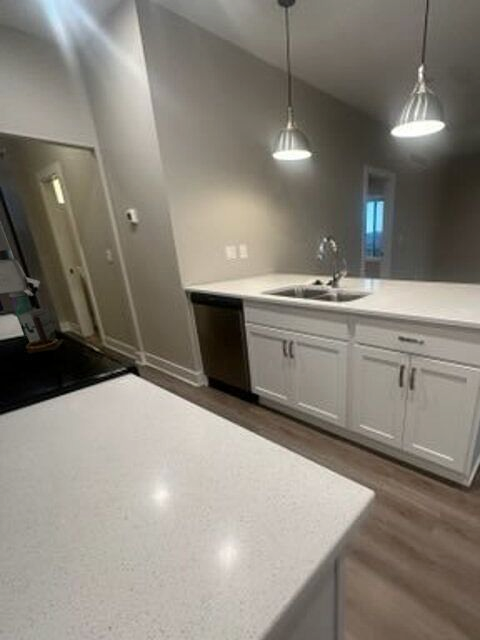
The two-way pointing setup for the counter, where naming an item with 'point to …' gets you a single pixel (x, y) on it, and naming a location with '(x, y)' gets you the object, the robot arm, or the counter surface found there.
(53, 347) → the peg on round base
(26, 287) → the robot arm
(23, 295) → the spray can
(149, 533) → the counter surface
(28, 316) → the ink box
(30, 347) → the ring
